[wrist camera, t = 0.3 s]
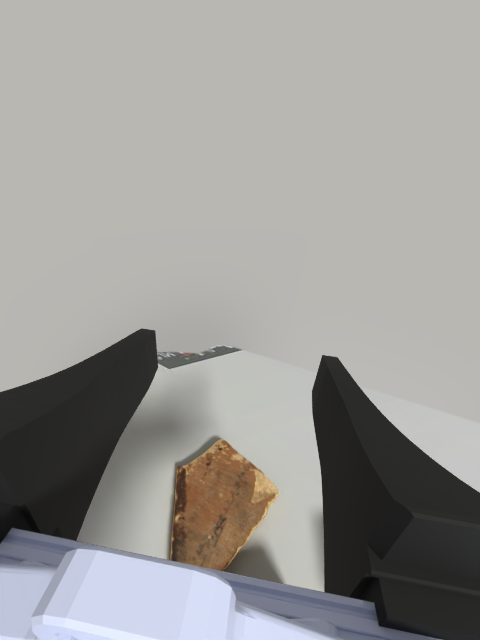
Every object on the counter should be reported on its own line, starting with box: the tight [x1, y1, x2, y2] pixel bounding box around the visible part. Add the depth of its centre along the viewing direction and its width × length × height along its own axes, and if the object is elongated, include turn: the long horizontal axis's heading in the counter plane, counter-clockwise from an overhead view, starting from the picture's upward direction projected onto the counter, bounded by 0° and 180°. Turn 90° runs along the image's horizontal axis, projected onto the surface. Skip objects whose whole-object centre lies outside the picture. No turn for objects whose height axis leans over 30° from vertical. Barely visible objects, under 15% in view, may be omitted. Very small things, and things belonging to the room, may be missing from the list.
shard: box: [170, 439, 280, 571], centre depth 26 cm, size 13×9×2 cm
